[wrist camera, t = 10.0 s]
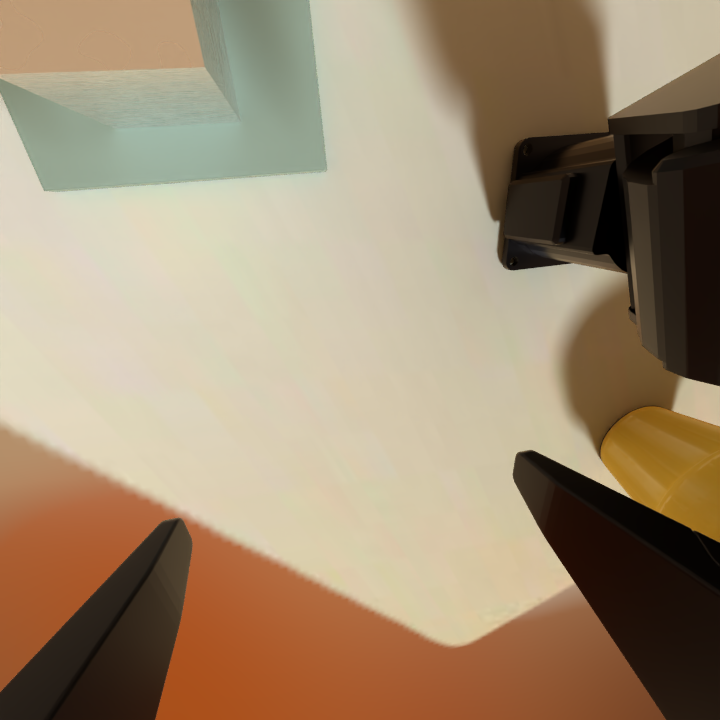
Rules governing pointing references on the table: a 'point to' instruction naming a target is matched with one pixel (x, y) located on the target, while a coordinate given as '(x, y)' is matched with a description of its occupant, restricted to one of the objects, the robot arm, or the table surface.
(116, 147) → the teal pad
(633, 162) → the robot arm
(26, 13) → the pale wooden block
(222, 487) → the table surface
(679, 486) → the plant pot
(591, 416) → the table surface
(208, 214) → the table surface
